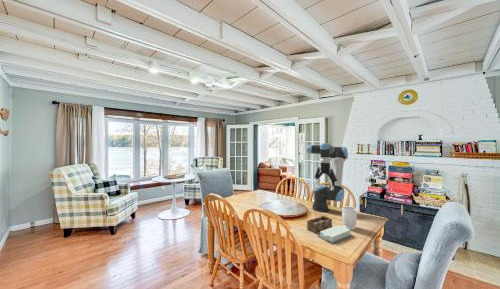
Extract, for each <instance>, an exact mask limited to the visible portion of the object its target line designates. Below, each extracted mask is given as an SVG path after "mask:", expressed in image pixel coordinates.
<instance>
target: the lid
mask: <svg viewBox="0 0 500 289" xmlns="http://www.w3.org/2000/svg"><path fill="white" fill-rule="evenodd" d="M350 234H351V230H349V229H347V228H344V227H343V226H342V225H339V224H338V225H335V226H332V228H329V229H326V230H323V231H320V232H319V235H320V237H322V238H324V239H326V240H328V241H330V242H335V241H337V240H339V239H342V238H344V237H347V236H349V235H350Z"/></svg>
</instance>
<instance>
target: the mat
mask: <svg viewBox="0 0 500 289" xmlns="http://www.w3.org/2000/svg"><path fill="white" fill-rule="evenodd" d="M316 236H317V238H320V239H321V240H323V241H325V242H327V243H329V244H331V245H336V244H338V243H341V242H342V241H345V240H347V239H350V238H352V237H354V235H353V234H351V233H350V235H349V236H347V237H344V238H342V239H339V240H337V241H335V242H330V241H328V240H326V239H324V238H322V237H320V234H319V235H316Z"/></svg>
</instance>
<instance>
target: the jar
mask: <svg viewBox="0 0 500 289" xmlns="http://www.w3.org/2000/svg"><path fill="white" fill-rule="evenodd" d="M341 210H342V211H341V217H342V223H343V226H342V227H344V228H347V229H349V230H350V231H352V230H353V231H354V230H355V229H356V224H357V219H358V218H357V217H358V215H357V214H358V213H357V210H358V209H357V208H356V207H354V206H353V207H352V206H346V205H345V206H342V208H341Z"/></svg>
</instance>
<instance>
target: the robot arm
mask: <svg viewBox="0 0 500 289" xmlns="http://www.w3.org/2000/svg"><path fill="white" fill-rule="evenodd" d="M306 152H307V154H311V155H319V158H320V163H319V164H320V166H319V167H317V169H316V172H315V175H314V178H315V179H316V185H315V186H314V187H313V198H314V199H313V200H314V201H313V203H312V207H311V208H312V210H313V211H315V212H321V213H322V212H323V213H325V212H326V213H327V212H328V211H329V205H328V201H332V202H338V203H339V202H342V201H344V197H345V189H344V187H343V186H342V184H343V171H344V163H345V162H346V160H347V159H349V153H348V148H347V147H346V146H333V145H331V144H330V143H327V142H326V143H325V142H324V143H320V144H319V145H318V144H317V145H316V144H315V145H314V144H312V145H311V144H309V145H307V146H306ZM331 159H332V160H333V167H332V168H331ZM322 175H327V176H328V179H329V180H330V185H329V187H328V186H327V185H326V184H321V179H320V178H321V176H322Z"/></svg>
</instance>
